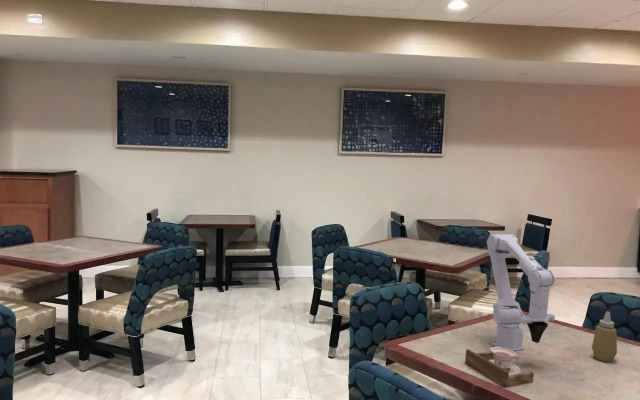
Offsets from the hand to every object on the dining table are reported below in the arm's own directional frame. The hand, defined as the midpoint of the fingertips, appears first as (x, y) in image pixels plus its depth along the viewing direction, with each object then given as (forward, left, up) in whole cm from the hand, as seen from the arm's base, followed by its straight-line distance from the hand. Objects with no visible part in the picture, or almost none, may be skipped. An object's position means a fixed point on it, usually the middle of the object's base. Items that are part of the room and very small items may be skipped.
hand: (535, 341), depth 164 cm
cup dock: (+17, 0, -9) cm, 19 cm away
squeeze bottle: (-31, +4, -9) cm, 33 cm away
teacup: (+13, -2, -9) cm, 16 cm away
